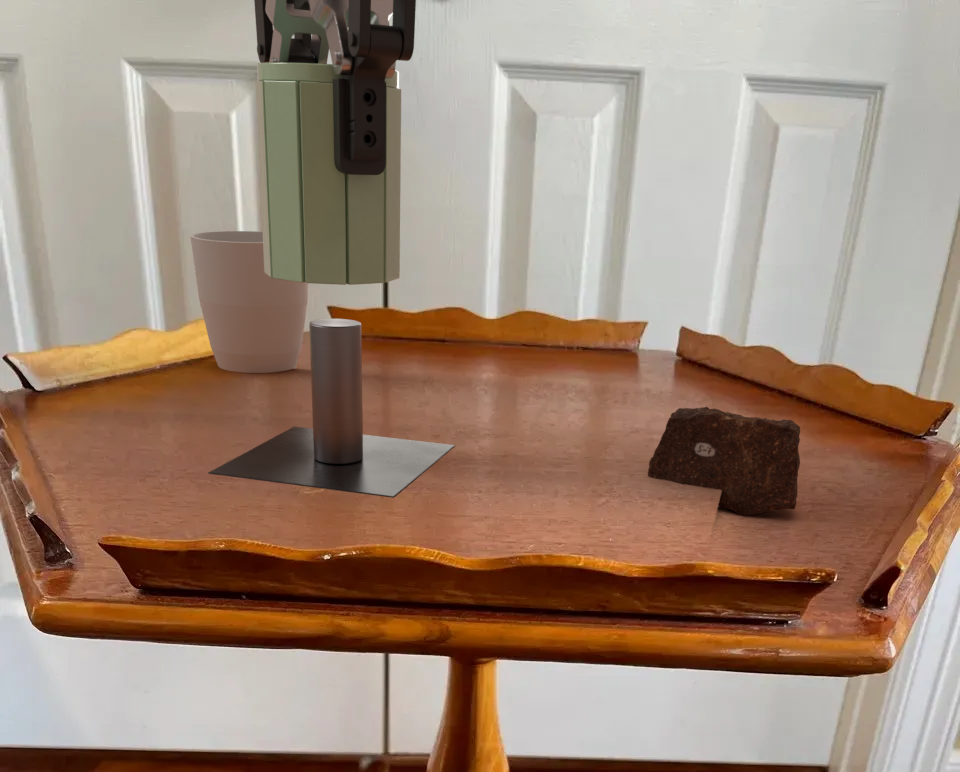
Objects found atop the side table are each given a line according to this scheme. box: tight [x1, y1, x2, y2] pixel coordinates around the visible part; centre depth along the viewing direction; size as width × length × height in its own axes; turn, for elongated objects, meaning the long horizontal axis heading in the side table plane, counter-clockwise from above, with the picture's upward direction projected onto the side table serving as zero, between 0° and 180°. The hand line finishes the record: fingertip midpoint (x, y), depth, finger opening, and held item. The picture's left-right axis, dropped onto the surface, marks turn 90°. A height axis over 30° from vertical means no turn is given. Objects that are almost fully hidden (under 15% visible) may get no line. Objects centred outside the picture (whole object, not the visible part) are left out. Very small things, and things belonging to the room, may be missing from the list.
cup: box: [189, 230, 309, 374], centre depth 74 cm, size 8×8×10 cm
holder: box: [207, 318, 456, 498], centre depth 53 cm, size 10×10×8 cm
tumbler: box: [255, 62, 402, 286], centre depth 49 cm, size 6×7×9 cm
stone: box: [647, 406, 801, 516], centre depth 53 cm, size 8×3×5 cm, turn 65°
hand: (330, 168), depth 49 cm, fingers closed on tumbler, 6 cm apart
